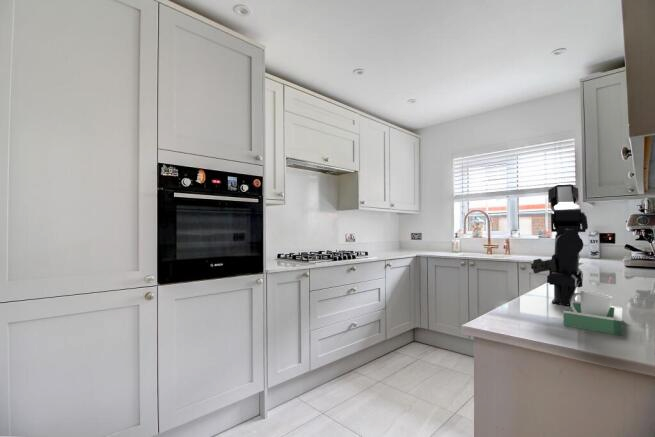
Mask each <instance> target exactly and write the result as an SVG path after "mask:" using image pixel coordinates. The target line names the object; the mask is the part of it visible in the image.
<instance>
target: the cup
mask: <svg viewBox="0 0 655 437" xmlns="http://www.w3.org/2000/svg"><path fill="white" fill-rule="evenodd" d="M578 295H579V296H580V302H581V313H584V314H591V315H597V316H604V317H606V316H607V314H608V311H609V309H610V306H612V303H613V300H614V297H613V296H610V295H607V294H603V293H599V292H595V291H591V290H580V292H575V294H574V295H573V296H572V298H571V301H570V305H571V308H572V310H573V311H574V312H577V311H576V310H575V308H574V305H573V302H574V299H575V300H576V297H577V296H578ZM570 305H569V306H570ZM577 313H578V312H577Z"/></svg>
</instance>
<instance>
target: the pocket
mask: <svg viewBox="0 0 655 437" xmlns="http://www.w3.org/2000/svg"><path fill="white" fill-rule="evenodd" d="M573 305H574V308H575V310H576V311H577V312H578V313H577V312H574V311H573V310H572V308H571V305H569V306H570V307H569V308H570V310H563V326H566V327H572V328H576V329H577V328H578V329H583V330H589V331H593V332H599V333H605V334H610V335H611V334H612V335H617V336H622V335H623V307H622V306H615V305H614V306H613V305H611V306H610V309H609V311H608V314H607V316H606V317H604V316H597V315H591V314H584V313H581V301H578V300H575V301H574V302H573Z"/></svg>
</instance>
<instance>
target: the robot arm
mask: <svg viewBox="0 0 655 437" xmlns="http://www.w3.org/2000/svg"><path fill="white" fill-rule="evenodd" d="M547 190H548V194H547V195H548V196H547V197H548V198H547V201H548V202H547V203H548V204H550V209H551V212H550V229H551V230H550V231H551V232H552V233H556V234H555V235H554V238H555V239H554V254H553V255H551V258H547V259H541V258H536V259H533V261H532V262H530V269H531V270H532V271H533V274H539V273H543V272H547V271H548V272H549V273H548V275H547V276H546V284H549V285H550V286H553V299H552V300H551V303H552V304H556V305H561V306H563V307H567V306H570V301H571V298H572V296H573V295H574V294H575V293H576V290H577V288H581V287H583V280H584V278H583V277H584V273H583V271H582V270H581V268H579V266H580V263H579V262H580V259H581V255H580V252H581V251H582V250H583V248H584V242H583V238H581V236H580V234H579V233H586V231H587V230H588V228H589V226H588V217H587V215H586V214H585V212H584V211H582V208H581V206H580V205H579V204H576V203H578V202H579V199H580V198H579V188H578V187H577V186H576V187H575V186H574V184H573V183H557V184H554V187H551V188H550V189H547ZM574 301H576V298H575V299H574Z"/></svg>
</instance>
